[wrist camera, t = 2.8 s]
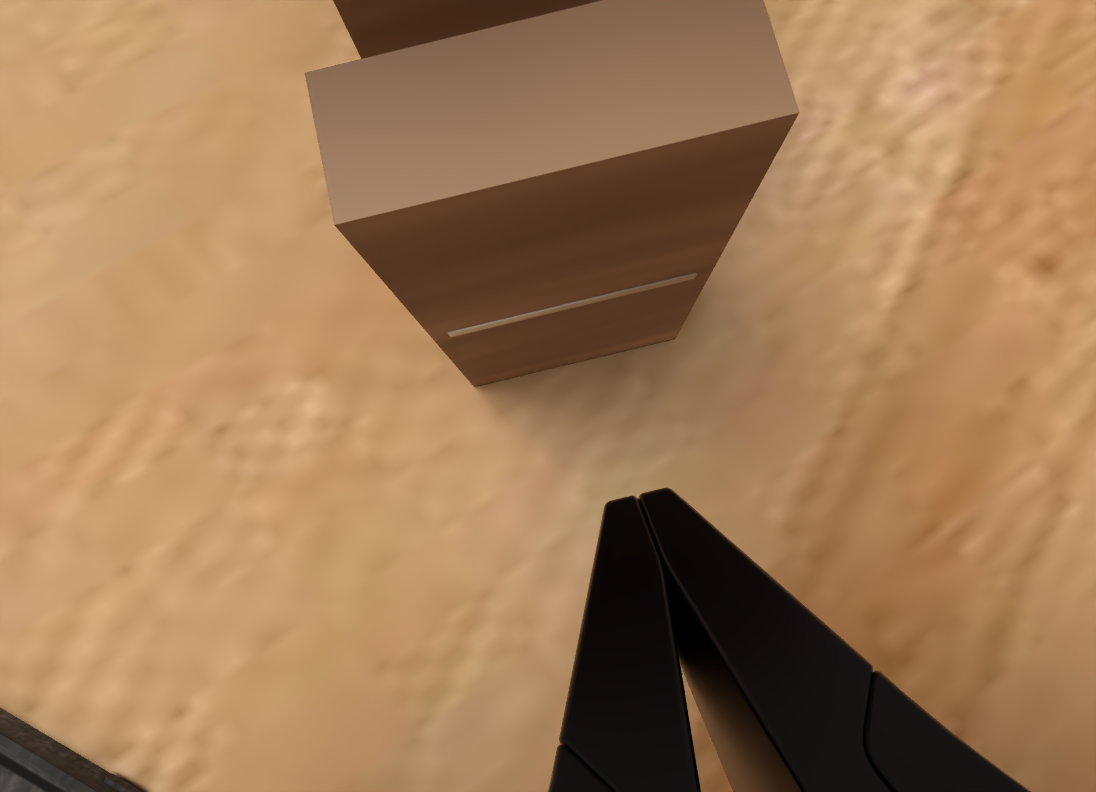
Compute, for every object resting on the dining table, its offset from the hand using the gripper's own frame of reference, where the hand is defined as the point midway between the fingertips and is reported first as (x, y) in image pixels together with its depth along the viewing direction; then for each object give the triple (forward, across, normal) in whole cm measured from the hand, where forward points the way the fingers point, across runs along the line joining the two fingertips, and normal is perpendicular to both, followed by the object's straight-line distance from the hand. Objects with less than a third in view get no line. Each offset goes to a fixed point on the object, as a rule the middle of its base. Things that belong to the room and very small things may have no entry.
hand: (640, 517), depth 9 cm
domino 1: (+9, 0, +2) cm, 9 cm away
